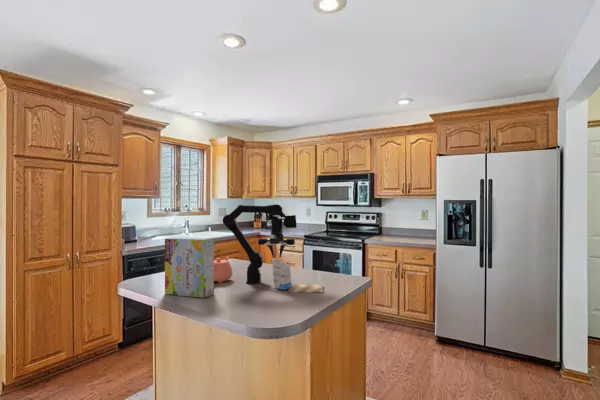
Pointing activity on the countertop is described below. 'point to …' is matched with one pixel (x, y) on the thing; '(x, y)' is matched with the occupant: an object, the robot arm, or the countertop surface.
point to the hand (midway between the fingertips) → (276, 258)
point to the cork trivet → (306, 288)
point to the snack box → (189, 266)
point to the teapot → (222, 270)
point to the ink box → (281, 274)
